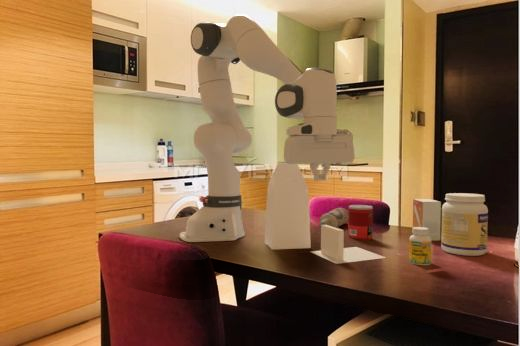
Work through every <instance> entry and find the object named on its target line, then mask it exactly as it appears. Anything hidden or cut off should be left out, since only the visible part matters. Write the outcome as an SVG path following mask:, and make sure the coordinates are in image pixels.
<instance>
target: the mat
mask: <svg viewBox="0 0 520 346" xmlns="http://www.w3.org/2000/svg"><path fill="white" fill-rule="evenodd" d="M311 253H312V254H313V255H316V256H318V257H320V258H322V259H325V260H327V261H329V262H331V263H334V264H336V265H337V264H346V263H356V262H363V261H372V260H373V261H374V260H378V259H379V260H380V259H387V257H386V256H382V255H380V254H378V253H376V252H372V251H370V250H367V249H364V248H361V247H358V246H353V247H351V246H350V247H344V254H343V260H336V259H334V258H332V257H329V256H327V255H325V254H322V253H321V249H319V250H314V251H313V250H312V251H310V254H311Z"/></svg>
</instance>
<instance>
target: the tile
mask: <svg viewBox="0 0 520 346" xmlns="http://www.w3.org/2000/svg"><path fill="white" fill-rule="evenodd" d="M344 237H345V232H344V229H341V228H339V227H338V228H335V227H332V226H329V225H321V228H320V250H321V253H322V254H325V255H327V256H329V257H332V258H334V259H336V260H343V254H344V248H345V245H344V244H345V243H344V240H345V239H344Z"/></svg>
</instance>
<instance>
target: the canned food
mask: <svg viewBox="0 0 520 346" xmlns="http://www.w3.org/2000/svg"><path fill="white" fill-rule="evenodd" d="M347 208H348V210H347V211H348V222H347V224H348V225H347V229H348V231H347V234H348V238H350V239H354V240H355V239H356V240H358V241H362V242H364V241H365V242H366V241H367V242H368V241H371V240H373V239H372V238H373V221H374V219H373V218H374V216H373V215H374V210H373V209H374V208H373V206H372V205H366V204H351V205H348V207H347Z"/></svg>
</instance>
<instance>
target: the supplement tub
mask: <svg viewBox="0 0 520 346" xmlns="http://www.w3.org/2000/svg"><path fill="white" fill-rule="evenodd" d="M444 200H445V201H446V202H444V203H443V204H442V205H441V232H440V241H441V243H440V245H441V246H440V247H441V249H442V250H443V251H444V252H446V253H449V254H452V255H458V256H466V257H469V256H470V257H473V256H474V257H476V256H477V257H478V256H483V255H485V254H486V252H487V251H488V224H489V223H488V221H489V219H488V218H489V213H488V212H489V209H488V206H487V205H486V204H484V203H485V202H486V196H485V194H479V193H467V192H466V193H465V192H463V193H462V192H459V193H458V192H457V193H456V192H453V193H451V192H449V193H446V194H445V198H444Z"/></svg>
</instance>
